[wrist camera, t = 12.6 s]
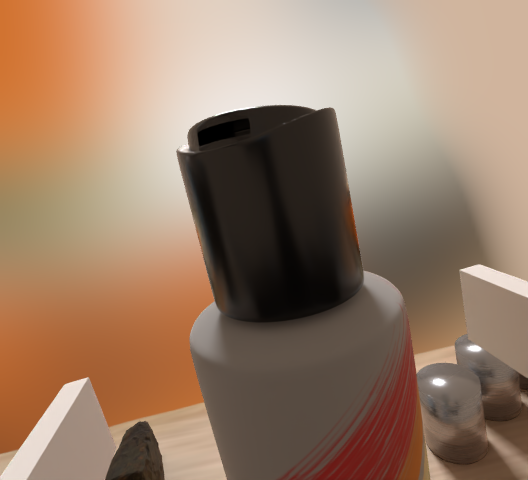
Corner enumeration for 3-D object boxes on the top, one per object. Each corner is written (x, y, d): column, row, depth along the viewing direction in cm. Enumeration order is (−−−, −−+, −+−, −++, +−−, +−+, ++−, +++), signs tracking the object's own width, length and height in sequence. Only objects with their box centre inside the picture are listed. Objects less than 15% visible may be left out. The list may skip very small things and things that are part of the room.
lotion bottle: (270, 758, 12) (66, 148, 7) (320, 570, 17) (216, 135, 12) (467, 889, 9) (341, 59, 5) (458, 620, 14) (392, 87, 9)
